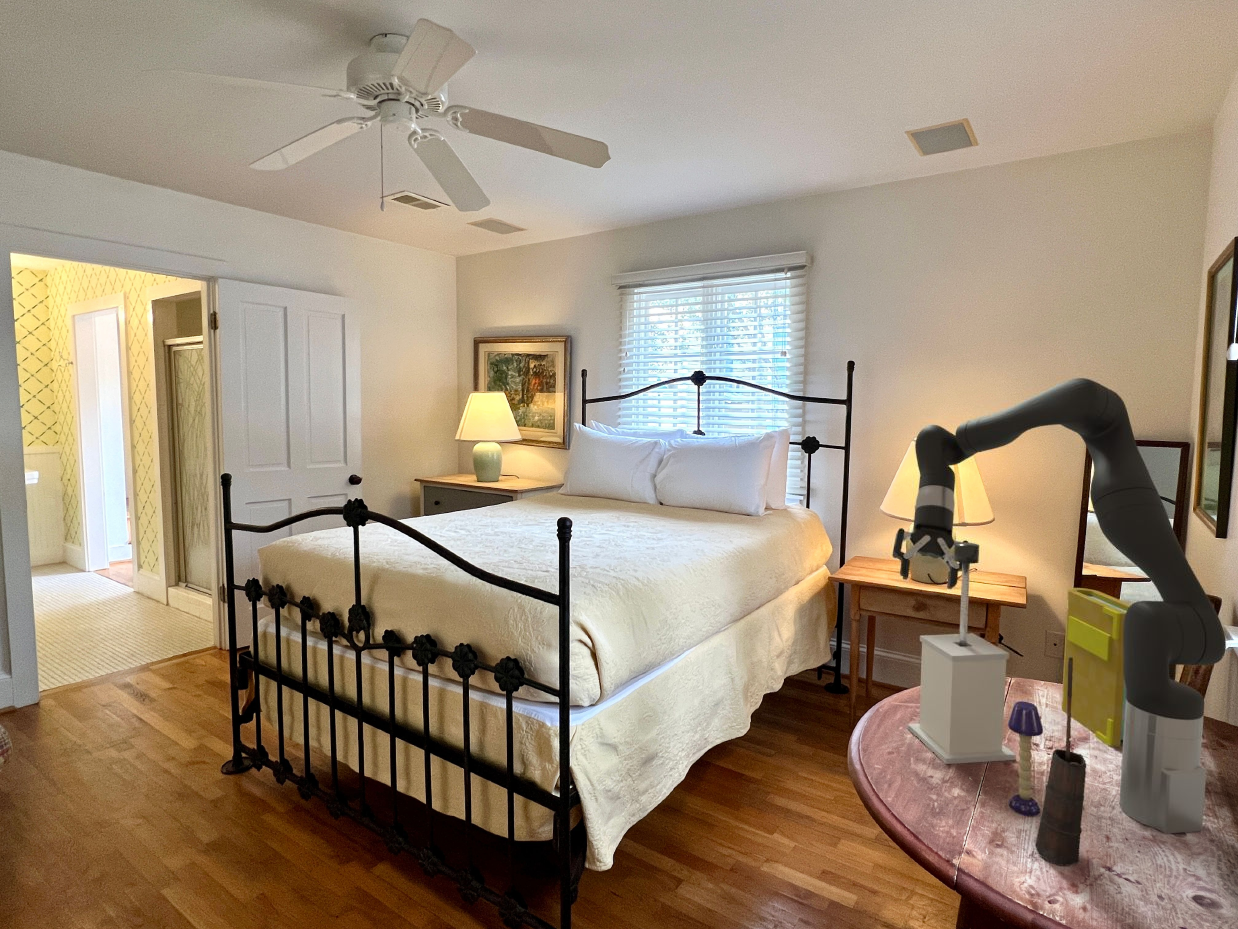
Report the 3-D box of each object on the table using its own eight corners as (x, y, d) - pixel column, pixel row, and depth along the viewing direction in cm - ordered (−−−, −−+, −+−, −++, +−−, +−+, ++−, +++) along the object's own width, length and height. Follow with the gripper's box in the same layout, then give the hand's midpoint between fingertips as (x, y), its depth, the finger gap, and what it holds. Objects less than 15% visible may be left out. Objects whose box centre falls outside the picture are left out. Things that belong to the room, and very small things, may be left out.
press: (1015, 759, 121) (1020, 655, 120) (945, 764, 120) (949, 659, 118) (971, 725, 134) (974, 631, 133) (907, 729, 133) (910, 633, 131)
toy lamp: (1005, 811, 106) (1009, 707, 105) (1004, 796, 110) (1008, 696, 109) (1041, 819, 104) (1046, 714, 103) (1039, 804, 108) (1044, 701, 107)
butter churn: (1103, 893, 89) (1115, 683, 86) (1018, 865, 94) (1027, 667, 91) (1102, 854, 96) (1114, 660, 94) (1024, 830, 102) (1033, 646, 99)
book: (1146, 746, 126) (1155, 613, 123) (1109, 746, 126) (1117, 613, 124) (1086, 705, 143) (1092, 588, 140) (1053, 705, 143) (1059, 588, 140)
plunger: (995, 691, 123) (1002, 548, 120) (953, 693, 122) (958, 550, 120) (968, 673, 131) (974, 539, 128) (928, 675, 130) (933, 540, 127)
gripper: (902, 497, 144) (894, 569, 138) (976, 510, 141) (971, 585, 134) (895, 512, 151) (887, 581, 144) (965, 525, 147) (960, 596, 140)
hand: (927, 583), depth 139 cm, fingers open, 8 cm apart
